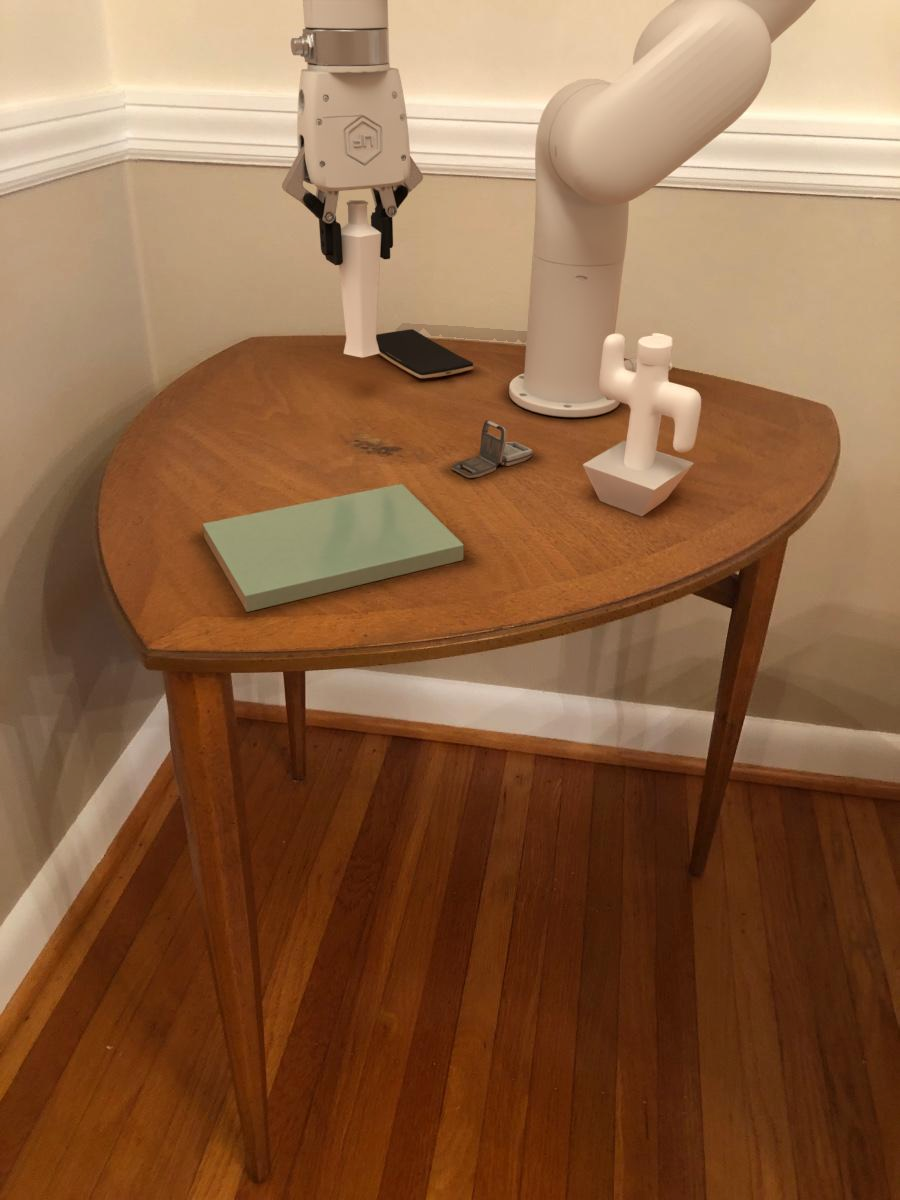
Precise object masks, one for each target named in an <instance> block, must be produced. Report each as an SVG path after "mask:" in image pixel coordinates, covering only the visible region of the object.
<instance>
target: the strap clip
mask: <svg viewBox="0 0 900 1200" xmlns="http://www.w3.org/2000/svg"><path fill="white" fill-rule="evenodd" d="M490 426H491V427H493V428H495V429H497V430H499V431H500V437H497V436H495V435H493V434H491V433H489V428H490ZM480 437H481V438H480V446H479V455H480V456H474V457H471V458H467V459H464V460H461V461H458V462H456V463H454V464H452V465H451V470H453V471H455V472H457V473H459V474H461V475H462V476H463V477H466V478H470V479H472V478H480V477H483V476H485V475H488V474H490V473H493V472H495V471H496V470H497V467H498V466H499V465H501V466H504V467H510V466H513V465H517V464H521V463H523V462H526V461H528V460H529V459H531V457H532V456H533V449H531V448H530V447H528V446H526V445H524V444H521V443H519V442H516V441H507V431H506V428H505V427H504V426H502V425H499V424H498V423H495V422H494V421H491V420H488V419H487V420H485V421H484V423H483V426H482V429H481V436H480ZM461 468H462V469H461ZM463 469H465V470H467V471H469V472H467V471H465V470H463ZM470 472H471V473H470Z"/></svg>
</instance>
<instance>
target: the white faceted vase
mask: <svg viewBox="0 0 900 1200" xmlns="http://www.w3.org/2000/svg"><path fill="white" fill-rule="evenodd" d="M368 204H369V201H366V200H364V199H359V200H357V199H355V200H353V199H352V200H348V201H347V202H346V205H347V220H348V223H346V224H345V225H344V226H341V238H342V256H343V263H341V265H338V273H339V280H340V281H339V282H340V283H339V284H340V291H341V301H342V302H341V303H342V310H343V319H344V328H345V329H344V331H345V343H344V349H343V354H344V355H348V356H352V357H357V358H361V359H362V358H367V357H371V356H375V355H380V354H379V353H380V351H379V347H378V344H377V340H376V335H377V330H378V329H377V327H378V309H379V308H378V307H379V306H378V305H379V291H380V290H379V287H380V266H381V257H380V250H381V232H379V231H378V230H376V229H375V228H374V227H372V226H371V224H369V223H368Z"/></svg>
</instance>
